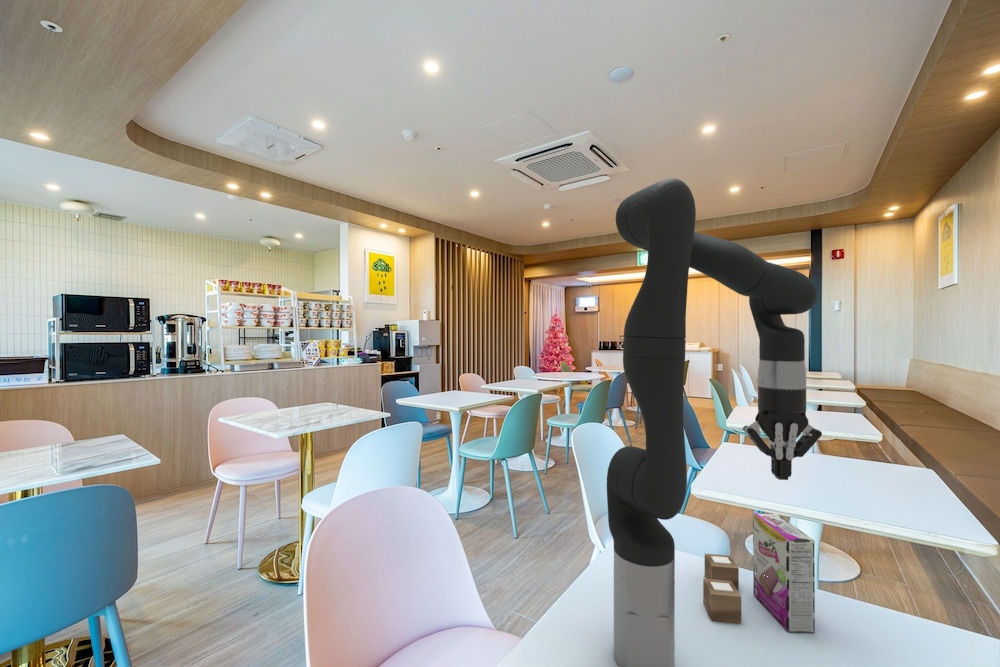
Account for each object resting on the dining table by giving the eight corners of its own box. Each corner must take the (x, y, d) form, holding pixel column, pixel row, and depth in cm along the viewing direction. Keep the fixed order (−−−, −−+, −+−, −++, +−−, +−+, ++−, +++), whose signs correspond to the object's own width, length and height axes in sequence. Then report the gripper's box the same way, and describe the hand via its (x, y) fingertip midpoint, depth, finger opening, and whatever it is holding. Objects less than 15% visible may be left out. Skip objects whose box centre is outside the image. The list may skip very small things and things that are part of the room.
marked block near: (741, 624, 78) (741, 595, 78) (711, 621, 79) (711, 593, 79) (731, 607, 83) (731, 579, 83) (703, 604, 84) (703, 577, 84)
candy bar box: (751, 594, 87) (751, 512, 86) (776, 595, 86) (776, 512, 86) (787, 634, 75) (787, 539, 75) (816, 634, 75) (816, 539, 75)
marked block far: (738, 593, 87) (738, 567, 87) (711, 590, 88) (711, 565, 88) (729, 579, 92) (729, 554, 92) (704, 576, 93) (704, 552, 93)
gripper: (750, 386, 78) (750, 483, 78) (833, 388, 76) (833, 487, 76) (735, 381, 85) (735, 470, 86) (810, 382, 83) (810, 473, 83)
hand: (781, 478), depth 81 cm, fingers closed
